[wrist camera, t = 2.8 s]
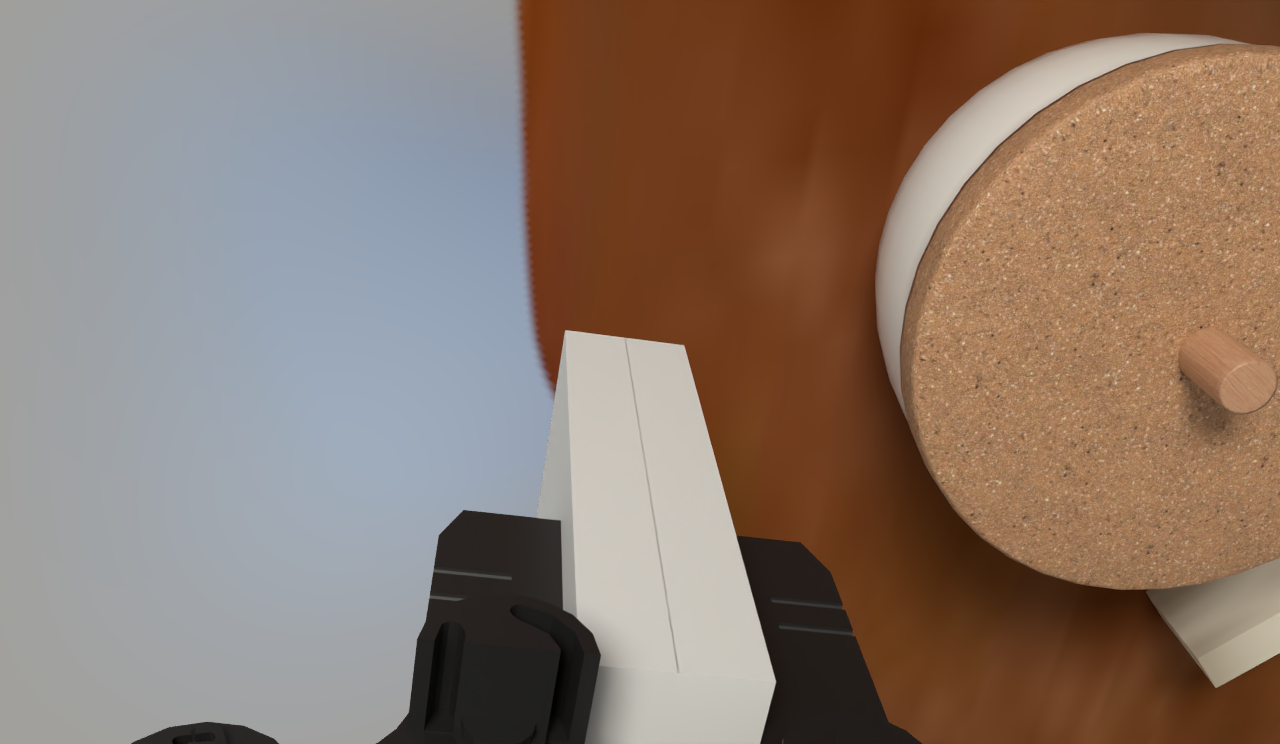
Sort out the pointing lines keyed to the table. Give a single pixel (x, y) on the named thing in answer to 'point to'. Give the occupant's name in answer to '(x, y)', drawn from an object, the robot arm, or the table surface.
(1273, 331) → the lidded jar
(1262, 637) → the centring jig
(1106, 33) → the table surface
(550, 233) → the table surface
